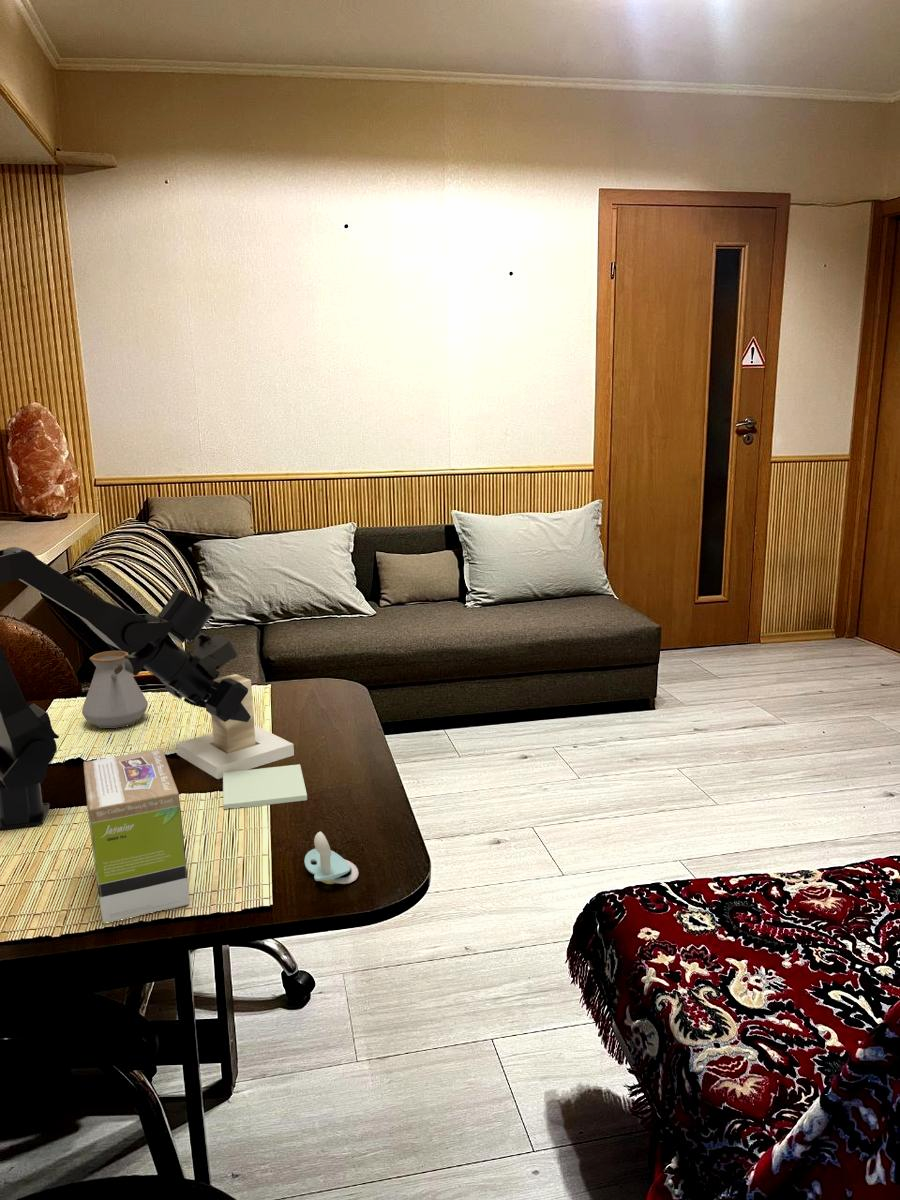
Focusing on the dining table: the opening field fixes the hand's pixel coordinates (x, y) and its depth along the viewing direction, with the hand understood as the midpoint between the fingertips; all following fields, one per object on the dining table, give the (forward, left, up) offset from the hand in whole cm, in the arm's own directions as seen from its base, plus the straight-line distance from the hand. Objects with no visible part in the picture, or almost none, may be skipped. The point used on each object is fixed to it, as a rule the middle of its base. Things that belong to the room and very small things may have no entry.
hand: (240, 715), depth 152 cm
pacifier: (-44, -10, -7) cm, 46 cm away
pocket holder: (-1, +1, -7) cm, 7 cm away
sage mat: (-16, -3, -7) cm, 17 cm away
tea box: (-41, +13, -7) cm, 43 cm away
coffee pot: (+17, +21, -7) cm, 28 cm away
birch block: (-1, +1, -7) cm, 7 cm away
